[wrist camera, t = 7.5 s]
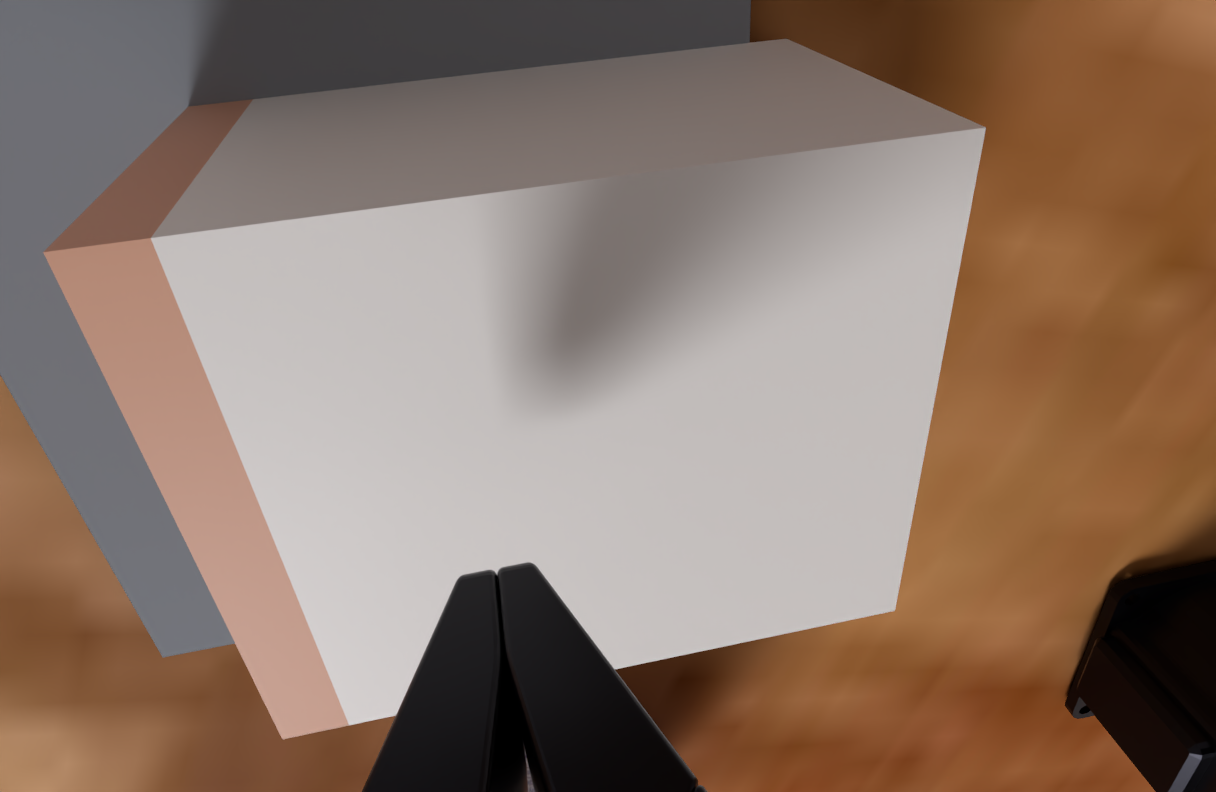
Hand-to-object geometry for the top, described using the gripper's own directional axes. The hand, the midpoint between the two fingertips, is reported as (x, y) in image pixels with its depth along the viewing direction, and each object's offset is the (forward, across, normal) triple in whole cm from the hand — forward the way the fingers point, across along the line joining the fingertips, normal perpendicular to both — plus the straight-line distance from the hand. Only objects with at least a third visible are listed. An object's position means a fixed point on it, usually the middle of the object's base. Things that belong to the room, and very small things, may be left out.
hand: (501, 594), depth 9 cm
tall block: (+5, -6, 0) cm, 8 cm away
